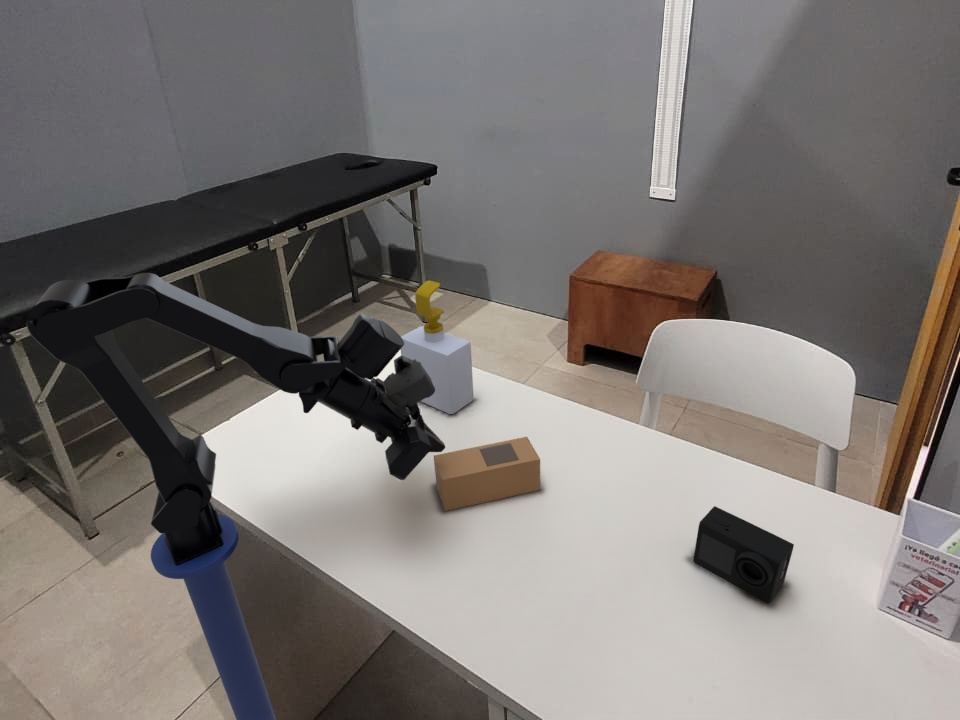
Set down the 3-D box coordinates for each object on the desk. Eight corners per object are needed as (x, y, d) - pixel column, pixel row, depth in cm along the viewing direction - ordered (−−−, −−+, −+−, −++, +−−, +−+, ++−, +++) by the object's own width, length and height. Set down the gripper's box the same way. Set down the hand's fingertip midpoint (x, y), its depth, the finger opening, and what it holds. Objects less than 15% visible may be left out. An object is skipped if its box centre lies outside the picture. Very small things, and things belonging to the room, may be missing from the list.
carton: (442, 479, 93) (540, 458, 96) (433, 455, 98) (527, 436, 101) (444, 511, 96) (540, 490, 99) (436, 486, 101) (527, 466, 104)
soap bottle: (475, 400, 122) (469, 285, 111) (452, 416, 118) (443, 298, 106) (427, 381, 129) (417, 270, 118) (404, 395, 125) (391, 282, 113)
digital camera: (687, 566, 85) (693, 526, 82) (707, 543, 89) (714, 504, 85) (765, 610, 79) (775, 569, 75) (783, 583, 82) (794, 543, 79)
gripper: (406, 389, 77) (498, 445, 85) (383, 324, 93) (462, 376, 101) (349, 455, 79) (443, 504, 87) (336, 381, 95) (417, 428, 103)
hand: (443, 448), depth 94 cm, fingers closed
